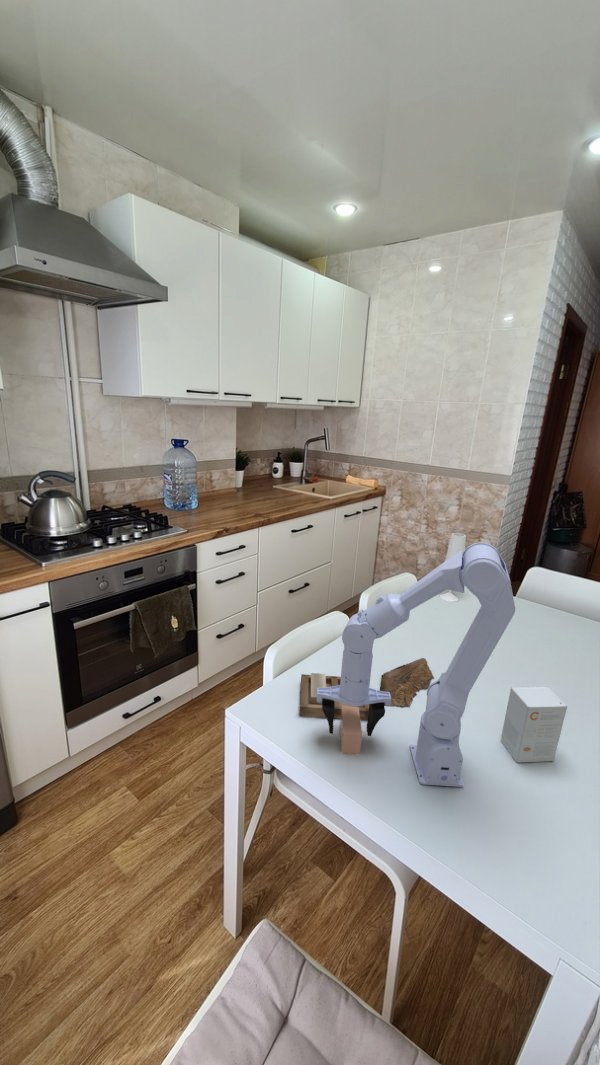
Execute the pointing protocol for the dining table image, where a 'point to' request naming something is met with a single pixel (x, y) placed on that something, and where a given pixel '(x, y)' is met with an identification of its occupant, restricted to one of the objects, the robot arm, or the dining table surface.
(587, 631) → the dining table surface
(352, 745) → the clay bar
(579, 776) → the dining table surface
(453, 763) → the robot arm
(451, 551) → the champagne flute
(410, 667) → the wooden fragment
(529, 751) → the small box
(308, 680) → the rack
